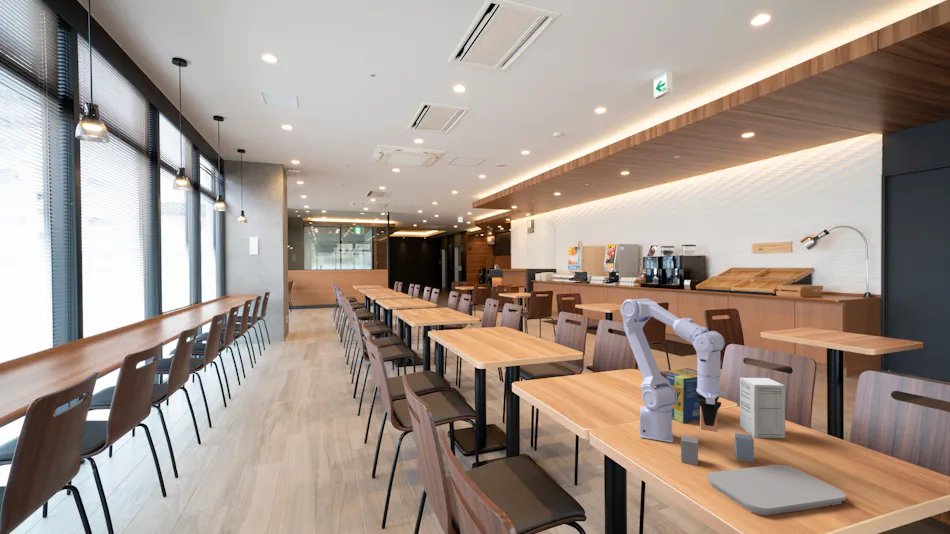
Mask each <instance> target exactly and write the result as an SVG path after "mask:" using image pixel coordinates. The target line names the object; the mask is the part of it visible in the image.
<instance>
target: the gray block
mask: <svg viewBox="0 0 950 534" xmlns="http://www.w3.org/2000/svg"><path fill="white" fill-rule="evenodd" d="M680 439H681V440H680V458H681V459H680V460H681V461H680V462H681V464H687V465H693V466H698V465H699V443H698V442H699V441H698V438H697V437H693V436H687V435H681V436H680Z"/></svg>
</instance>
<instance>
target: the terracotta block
mask: <svg viewBox="0 0 950 534" xmlns="http://www.w3.org/2000/svg"><path fill="white" fill-rule="evenodd" d="M699 427H700V430H703V431H707V432H708V431H709V432H715V433H718V413H717V414H716V418H715V423H714V426H708V425H705V423H704V419H703V412H702V409H701V406H700V420H699Z"/></svg>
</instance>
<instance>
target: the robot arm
mask: <svg viewBox="0 0 950 534" xmlns="http://www.w3.org/2000/svg"><path fill="white" fill-rule="evenodd" d="M619 312H620V314H621V317H622V320H623V329H624V333H625V336H626V338H627V340H628V343H629V346H630V347H631V351H632V353H633V355H634V358H635V360H636V361H635V362H636V364H637V366H638V369H639V371H640V374H641V376H642V379H643V380H642V382H641V385H640V391H641V400H642V402H643V404H644V405H640V410H639V411H640V412H639V423H638V424H639V426H638V429H639V437H640V438H642V439H648V440H655V441H660V442H668V443H674V432H673V419H672V408H673V404H675V403H676V401H677V394H676V391H675V390H674V388H673V387H672V386H671V385H670V383H669V381H668V380H667V379H666V378H664V377H663V376H662V375H661V374H660V372H661V371H660V369H659V367H658V365H657V362H656V360H655V357H654V354H653V352H652V349H651V347H650V345H649V342H648V340H647V337H646V335H645V332H644V330H643V329H644V326H645V325H646V324H647V322H648V321H649V320H650V319H651V318H654V319H656V320H657V321H660V322H661V323H663V324H665V325H667V326H668V327H671V328H672V329H673V332H674V334H675V335H676V336H679V337H680V338H682V339H683V340H685V341H687V343H690V344H691V345H692V346H693V348H694V350H695V351H696V356H697V357H696V358H697V359H696V362H697V363H696V365H697V366H696V367H697V369H696V371H697V389H696V391H697V392H698V393H697V396H698V402H699V404H700V406H701V409H702V412H703V419H704V423H705V425H708V426H714V423H715V418H716V414H717V415H718V411H719V410H720V407H722V402H721V401H719V399H720V396H725V395H726V391H724V390H721V351H722V350H723V349H724V347H725V345H726V343H725V338H724V337H723V335H722V334H721V333H720V332H718V331H716V330H711V331H709V329H708V327H706V326H701V325H699V324H698V323H696V322H694V319H693V318H691V317H682V318H679V317H677V316H676V315H674V314H673V313H671V312H670V311H668V310H667V309H666V308H664V307H662V306H661V305H659V304H658V302H657V301H654V300H652V299H651V298H639V299H638V298H635V299H633V298H629V299H625V300H624V301H623V302H622V304H621V306H620V309H619Z"/></svg>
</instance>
